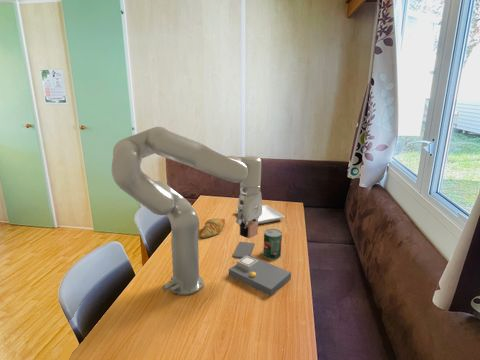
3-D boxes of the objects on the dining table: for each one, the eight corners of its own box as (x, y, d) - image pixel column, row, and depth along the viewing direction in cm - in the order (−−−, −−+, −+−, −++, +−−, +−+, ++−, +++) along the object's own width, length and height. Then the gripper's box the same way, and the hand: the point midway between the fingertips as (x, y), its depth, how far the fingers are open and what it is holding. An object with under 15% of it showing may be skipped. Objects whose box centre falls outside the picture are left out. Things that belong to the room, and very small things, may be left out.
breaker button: (248, 269, 123) (248, 264, 122) (240, 265, 125) (240, 261, 125) (254, 264, 126) (254, 260, 125) (246, 261, 128) (246, 257, 128)
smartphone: (255, 243, 149) (249, 258, 135) (255, 244, 150) (249, 260, 136) (239, 241, 151) (232, 256, 137) (239, 242, 151) (232, 258, 137)
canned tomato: (284, 255, 139) (285, 233, 136) (272, 261, 134) (273, 238, 131) (271, 248, 145) (272, 227, 142) (259, 254, 140) (260, 231, 137)
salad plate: (235, 214, 185) (235, 209, 184) (266, 209, 194) (266, 204, 193) (251, 228, 167) (251, 222, 166) (285, 222, 176) (285, 216, 175)
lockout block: (249, 238, 118) (250, 226, 117) (239, 234, 121) (239, 222, 120) (257, 234, 122) (258, 222, 120) (247, 230, 125) (247, 219, 123)
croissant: (207, 247, 153) (213, 235, 149) (191, 234, 155) (197, 223, 151) (227, 229, 171) (233, 219, 167) (213, 218, 173) (219, 208, 170)
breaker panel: (270, 296, 111) (271, 284, 110) (228, 275, 123) (228, 264, 122) (290, 279, 122) (291, 268, 121) (250, 261, 134) (250, 251, 133)
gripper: (243, 197, 108) (242, 244, 113) (271, 186, 120) (268, 229, 126) (227, 192, 112) (226, 238, 117) (255, 182, 125) (254, 224, 130)
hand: (248, 233), depth 121 cm, fingers closed on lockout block, 4 cm apart
